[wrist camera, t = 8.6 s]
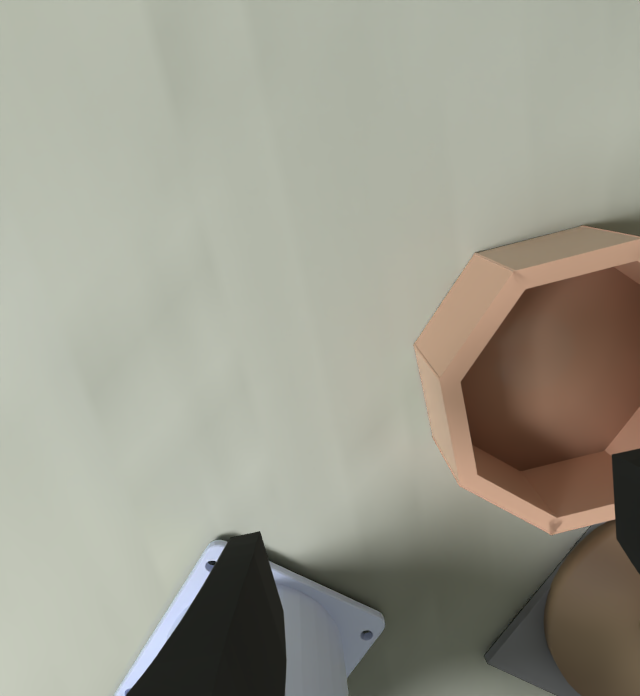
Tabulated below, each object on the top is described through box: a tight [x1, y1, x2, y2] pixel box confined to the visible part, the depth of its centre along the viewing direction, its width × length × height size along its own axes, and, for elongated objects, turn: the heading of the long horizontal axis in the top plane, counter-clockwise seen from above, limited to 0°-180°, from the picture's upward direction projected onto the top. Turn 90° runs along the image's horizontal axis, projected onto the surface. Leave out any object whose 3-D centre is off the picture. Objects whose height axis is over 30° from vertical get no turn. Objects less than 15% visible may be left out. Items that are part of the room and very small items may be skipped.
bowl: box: [413, 225, 640, 535], centre depth 19 cm, size 9×9×4 cm
